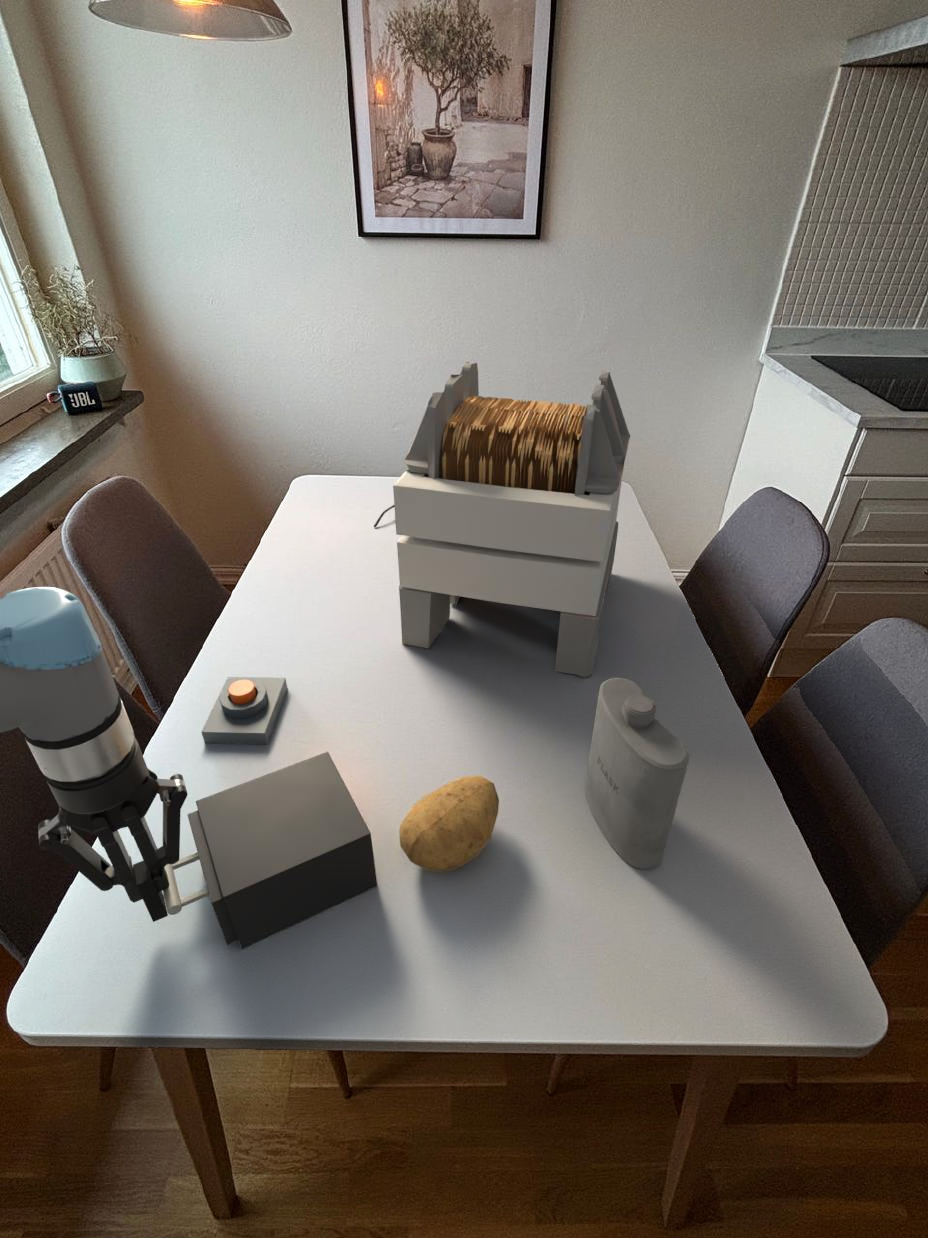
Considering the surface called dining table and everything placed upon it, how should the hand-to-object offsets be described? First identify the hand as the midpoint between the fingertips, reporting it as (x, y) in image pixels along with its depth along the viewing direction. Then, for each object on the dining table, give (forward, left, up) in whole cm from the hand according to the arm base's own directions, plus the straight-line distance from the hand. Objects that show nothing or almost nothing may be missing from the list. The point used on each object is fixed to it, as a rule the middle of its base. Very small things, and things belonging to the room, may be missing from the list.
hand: (158, 908), depth 73 cm
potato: (+32, -6, -3) cm, 33 cm away
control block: (+16, +29, -3) cm, 33 cm away
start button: (+16, +29, 0) cm, 33 cm away
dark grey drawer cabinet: (+14, 0, -3) cm, 15 cm away
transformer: (+66, +34, -3) cm, 75 cm away
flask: (+52, -13, -3) cm, 54 cm away
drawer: (+10, 0, -2) cm, 11 cm away
